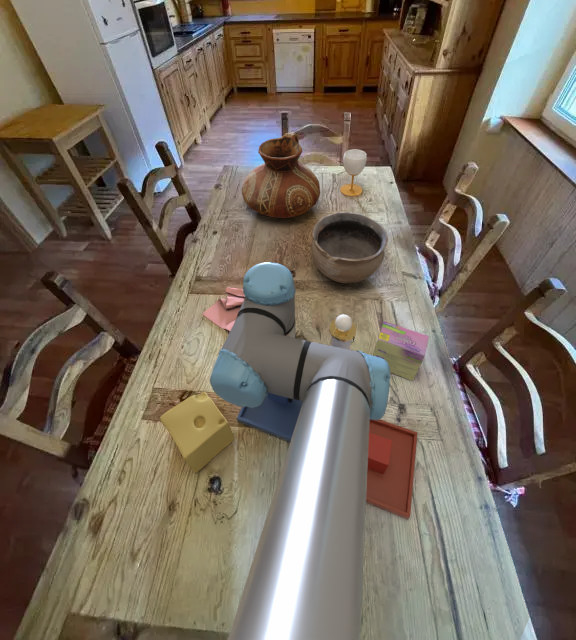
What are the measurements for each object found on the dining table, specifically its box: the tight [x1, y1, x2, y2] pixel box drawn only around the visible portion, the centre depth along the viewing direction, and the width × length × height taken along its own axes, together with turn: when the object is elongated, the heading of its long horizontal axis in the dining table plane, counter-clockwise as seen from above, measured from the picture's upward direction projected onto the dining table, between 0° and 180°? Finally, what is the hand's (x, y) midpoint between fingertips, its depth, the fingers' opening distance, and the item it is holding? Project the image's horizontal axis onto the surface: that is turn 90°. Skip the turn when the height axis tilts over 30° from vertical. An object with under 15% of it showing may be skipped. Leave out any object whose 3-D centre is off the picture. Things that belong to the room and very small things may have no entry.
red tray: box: [366, 419, 419, 520], centre depth 69 cm, size 15×15×2 cm
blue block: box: [267, 393, 288, 405], centre depth 74 cm, size 4×4×6 cm
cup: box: [340, 148, 368, 197], centre depth 135 cm, size 9×9×16 cm
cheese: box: [159, 391, 235, 474], centre depth 70 cm, size 10×11×10 cm
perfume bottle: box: [329, 313, 357, 350], centre depth 78 cm, size 6×6×20 cm
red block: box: [368, 433, 392, 474], centre depth 67 cm, size 4×4×6 cm
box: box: [372, 320, 430, 382], centre depth 81 cm, size 10×6×12 cm, turn 65°
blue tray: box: [236, 394, 303, 443], centre depth 78 cm, size 15×15×2 cm
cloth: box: [201, 287, 245, 335], centre depth 97 cm, size 20×22×2 cm
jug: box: [241, 132, 321, 219], centre depth 127 cm, size 30×30×25 cm
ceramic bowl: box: [310, 211, 389, 284], centre depth 103 cm, size 22×22×15 cm
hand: (281, 392), depth 76 cm, fingers closed on blue block, 4 cm apart
